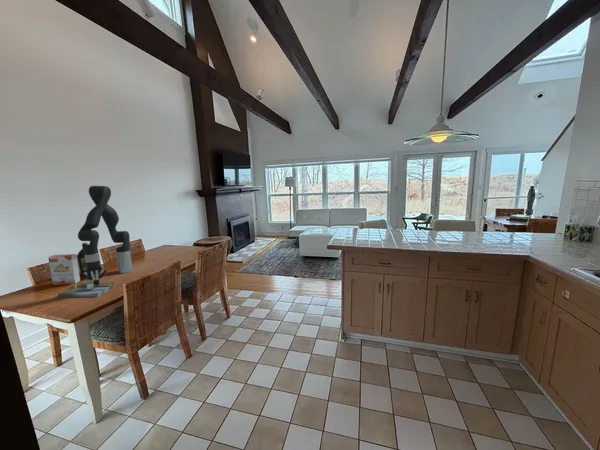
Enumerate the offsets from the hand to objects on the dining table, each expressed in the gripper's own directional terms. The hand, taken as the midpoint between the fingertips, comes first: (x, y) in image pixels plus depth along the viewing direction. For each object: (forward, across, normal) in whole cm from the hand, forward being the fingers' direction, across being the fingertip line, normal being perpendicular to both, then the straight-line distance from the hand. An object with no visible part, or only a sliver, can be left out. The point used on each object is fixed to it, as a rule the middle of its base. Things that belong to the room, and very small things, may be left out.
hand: (96, 285), depth 168 cm
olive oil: (+4, +7, -44) cm, 44 cm away
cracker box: (+4, +18, -28) cm, 34 cm away
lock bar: (+1, +4, -3) cm, 5 cm away
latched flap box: (+4, +5, -2) cm, 6 cm away
